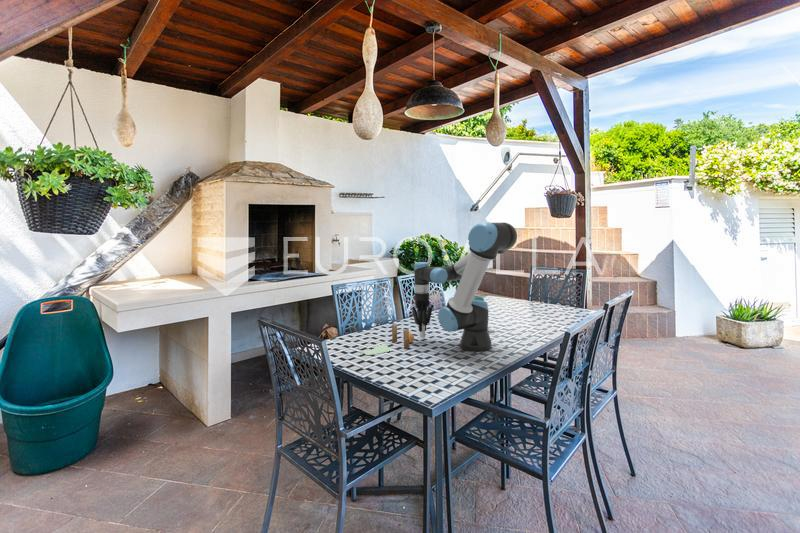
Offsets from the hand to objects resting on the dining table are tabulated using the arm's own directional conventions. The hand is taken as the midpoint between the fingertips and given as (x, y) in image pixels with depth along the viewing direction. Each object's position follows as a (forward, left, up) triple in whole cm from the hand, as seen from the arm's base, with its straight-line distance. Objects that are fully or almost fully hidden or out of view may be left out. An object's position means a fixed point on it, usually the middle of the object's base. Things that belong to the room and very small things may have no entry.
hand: (422, 337), depth 198 cm
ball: (0, +8, +1) cm, 8 cm away
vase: (0, -37, -2) cm, 37 cm away
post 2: (-6, +13, -2) cm, 15 cm away
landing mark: (0, +27, -2) cm, 27 cm away
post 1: (+6, +13, -2) cm, 15 cm away
